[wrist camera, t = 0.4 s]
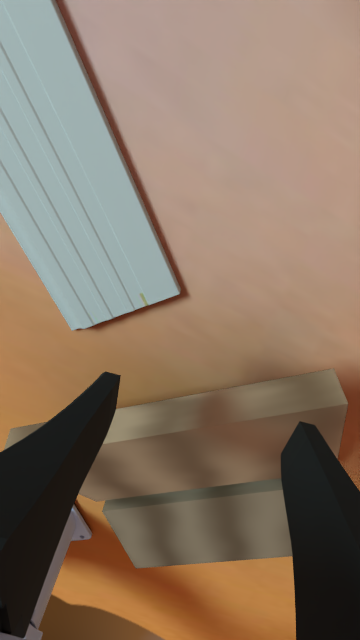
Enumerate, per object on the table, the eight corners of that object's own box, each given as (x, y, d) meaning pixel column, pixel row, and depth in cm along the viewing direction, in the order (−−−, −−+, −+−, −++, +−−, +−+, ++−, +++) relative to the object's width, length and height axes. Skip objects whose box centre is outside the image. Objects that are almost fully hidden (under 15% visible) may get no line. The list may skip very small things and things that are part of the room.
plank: (99, 477, 30) (96, 501, 29) (10, 428, 21) (0, 460, 20) (326, 444, 26) (335, 471, 25) (333, 368, 17) (348, 403, 16)
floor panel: (139, 547, 34) (135, 568, 32) (102, 479, 30) (95, 499, 28) (339, 528, 30) (347, 551, 29) (326, 448, 26) (334, 468, 24)
